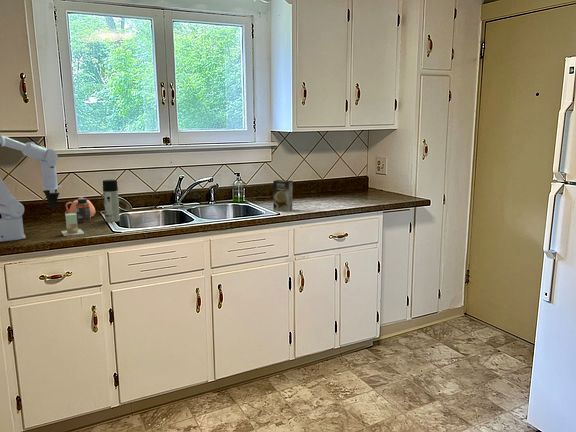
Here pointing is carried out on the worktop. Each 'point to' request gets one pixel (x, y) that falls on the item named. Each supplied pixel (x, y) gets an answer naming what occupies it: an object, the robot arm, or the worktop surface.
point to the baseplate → (72, 233)
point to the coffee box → (282, 195)
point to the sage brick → (71, 218)
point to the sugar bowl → (73, 210)
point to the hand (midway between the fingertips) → (52, 207)
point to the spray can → (111, 200)
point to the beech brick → (72, 228)
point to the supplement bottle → (83, 210)
